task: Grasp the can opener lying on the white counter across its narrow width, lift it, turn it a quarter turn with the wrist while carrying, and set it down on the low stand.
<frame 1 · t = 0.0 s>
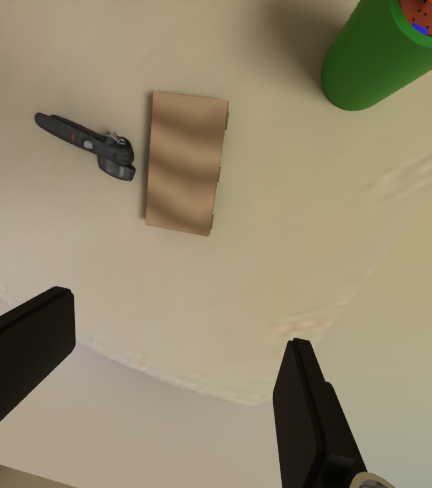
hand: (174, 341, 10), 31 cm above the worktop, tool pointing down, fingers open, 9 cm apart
stand: (187, 169, 38), on the worktop
can opener: (97, 143, 39), on the worktop
motor: (356, 75, 32), on the worktop
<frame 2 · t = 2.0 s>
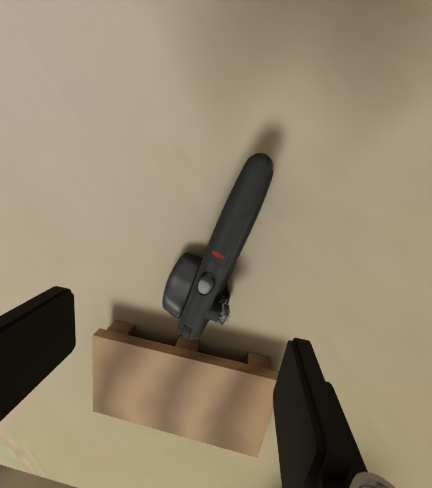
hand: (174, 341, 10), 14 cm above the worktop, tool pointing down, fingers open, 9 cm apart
stand: (184, 375, 28), on the worktop
can opener: (224, 244, 23), on the worktop
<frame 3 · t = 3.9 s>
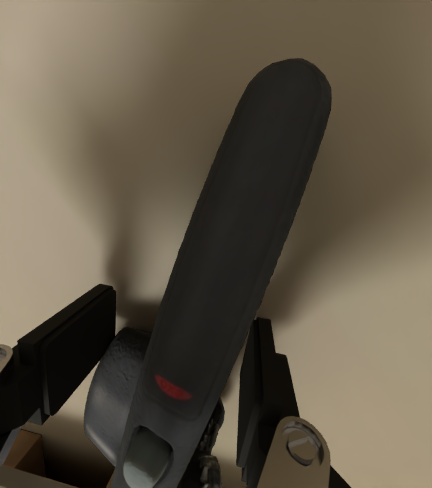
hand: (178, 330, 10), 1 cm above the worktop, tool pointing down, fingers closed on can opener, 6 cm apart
can opener: (205, 302, 11), on the worktop, touching gripper
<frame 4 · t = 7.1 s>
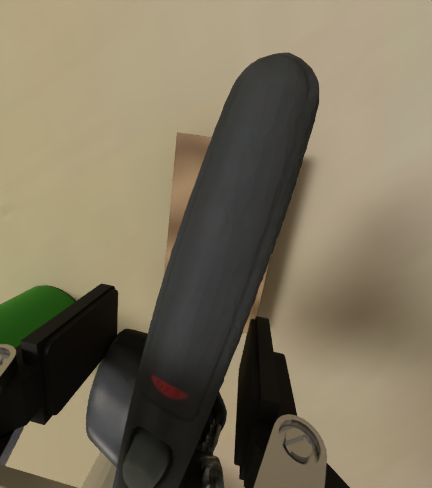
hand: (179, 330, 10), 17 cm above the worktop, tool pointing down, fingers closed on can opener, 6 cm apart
stand: (221, 236, 26), on the worktop
can opener: (204, 302, 11), point 16 cm above the worktop, touching gripper
motor: (55, 312, 33), on the worktop
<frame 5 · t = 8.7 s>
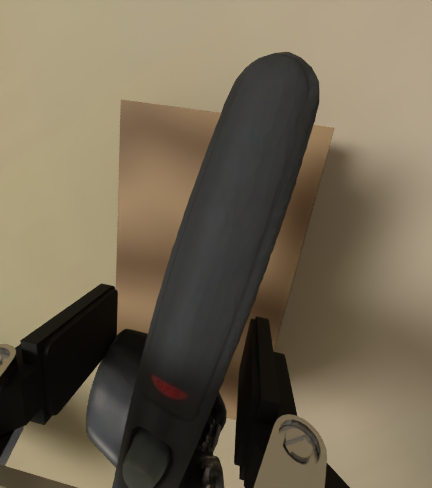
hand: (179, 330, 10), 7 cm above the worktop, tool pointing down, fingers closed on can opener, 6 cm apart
stand: (206, 270, 17), on the worktop
can opener: (204, 302, 11), point 6 cm above the worktop, touching gripper
when the fingers open (5 cm above the worktop, at t = 10.1 s): can opener drops 1 cm, resting on stand.
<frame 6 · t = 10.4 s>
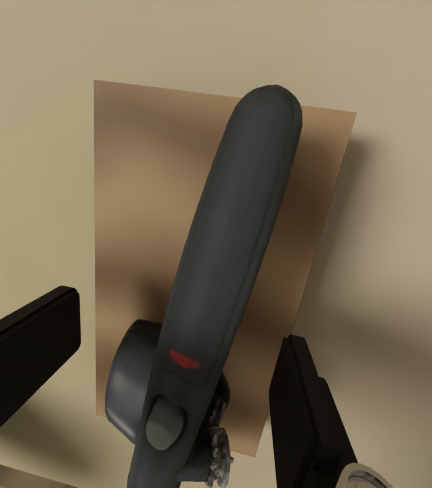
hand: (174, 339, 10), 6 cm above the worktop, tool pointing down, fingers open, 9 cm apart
stand: (201, 281, 15), on the worktop
can opener: (209, 294, 12), point 3 cm above the worktop, touching stand
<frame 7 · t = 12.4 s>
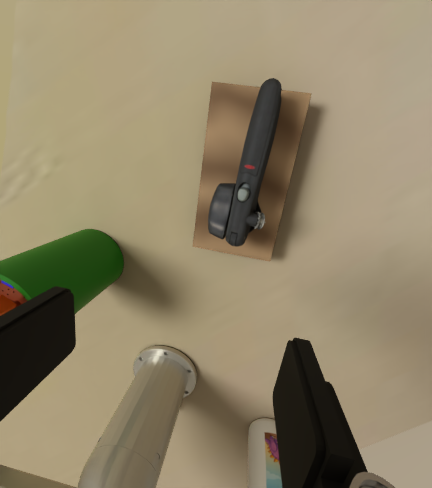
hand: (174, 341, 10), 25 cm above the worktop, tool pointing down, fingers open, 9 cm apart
milk bottle: (267, 429, 46), on the worktop
stand: (244, 179, 31), on the worktop
can opener: (249, 171, 28), point 3 cm above the worktop, touching stand
motor: (97, 254, 39), on the worktop
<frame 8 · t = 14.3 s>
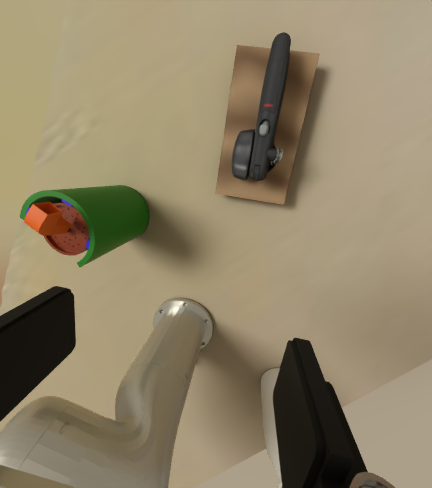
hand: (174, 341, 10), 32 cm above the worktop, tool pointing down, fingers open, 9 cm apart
milk bottle: (278, 380, 49), on the worktop
stand: (261, 134, 36), on the worktop
can opener: (265, 119, 33), point 3 cm above the worktop, touching stand
motor: (125, 210, 43), on the worktop
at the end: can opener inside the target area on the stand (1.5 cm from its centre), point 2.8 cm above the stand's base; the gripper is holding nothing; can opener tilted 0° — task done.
